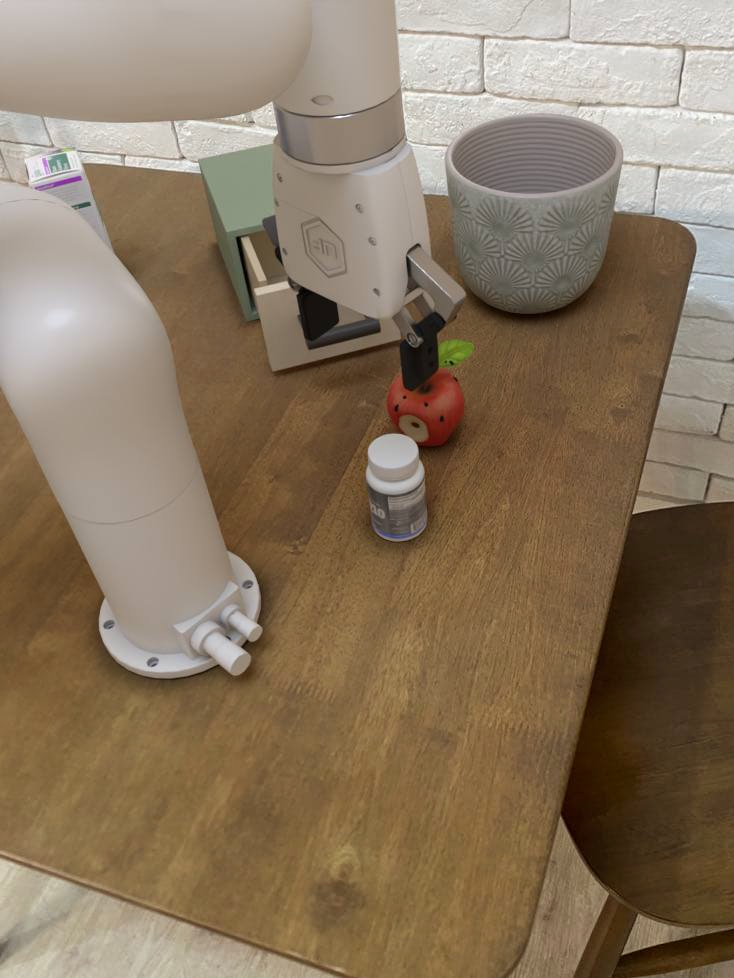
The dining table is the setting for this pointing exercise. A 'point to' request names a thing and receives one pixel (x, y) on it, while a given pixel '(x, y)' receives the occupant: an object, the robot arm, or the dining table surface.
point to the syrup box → (66, 184)
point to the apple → (431, 400)
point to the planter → (532, 207)
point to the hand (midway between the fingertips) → (370, 354)
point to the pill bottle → (396, 488)
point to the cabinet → (238, 207)
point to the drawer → (284, 317)
